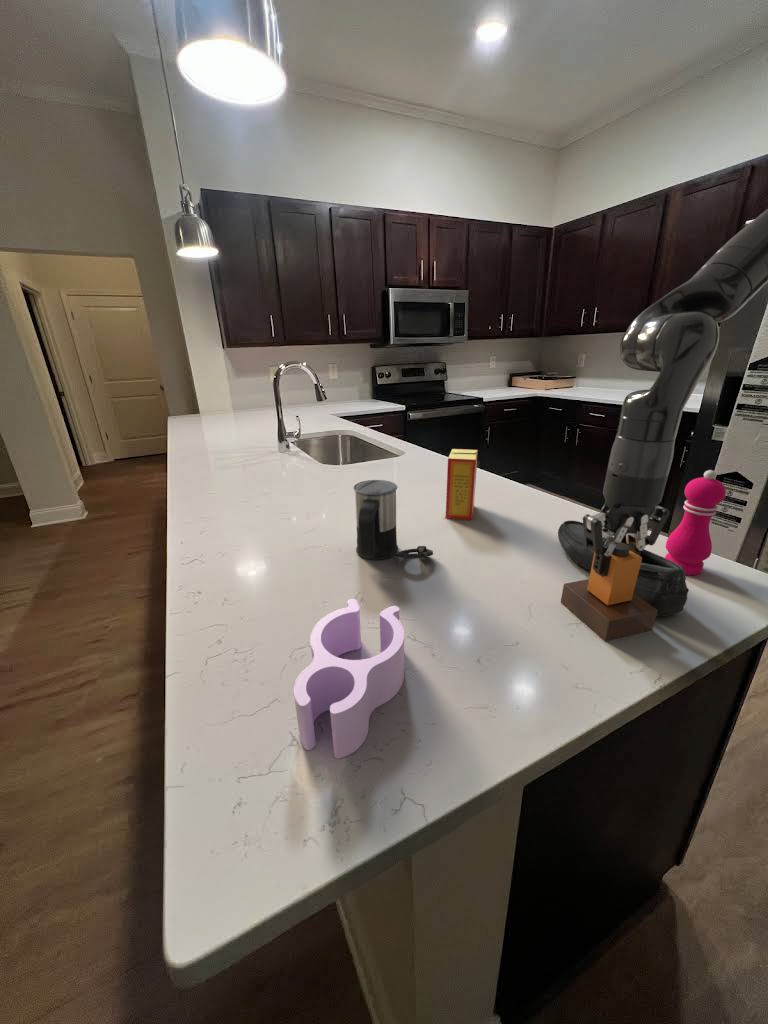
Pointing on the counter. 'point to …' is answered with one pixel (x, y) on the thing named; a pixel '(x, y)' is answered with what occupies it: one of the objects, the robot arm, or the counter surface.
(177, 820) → the counter surface
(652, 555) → the loafer
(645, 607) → the box
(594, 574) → the orange square bottle
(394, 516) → the milk frother
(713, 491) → the pepper mill
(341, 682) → the clip
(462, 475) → the baking soda box
